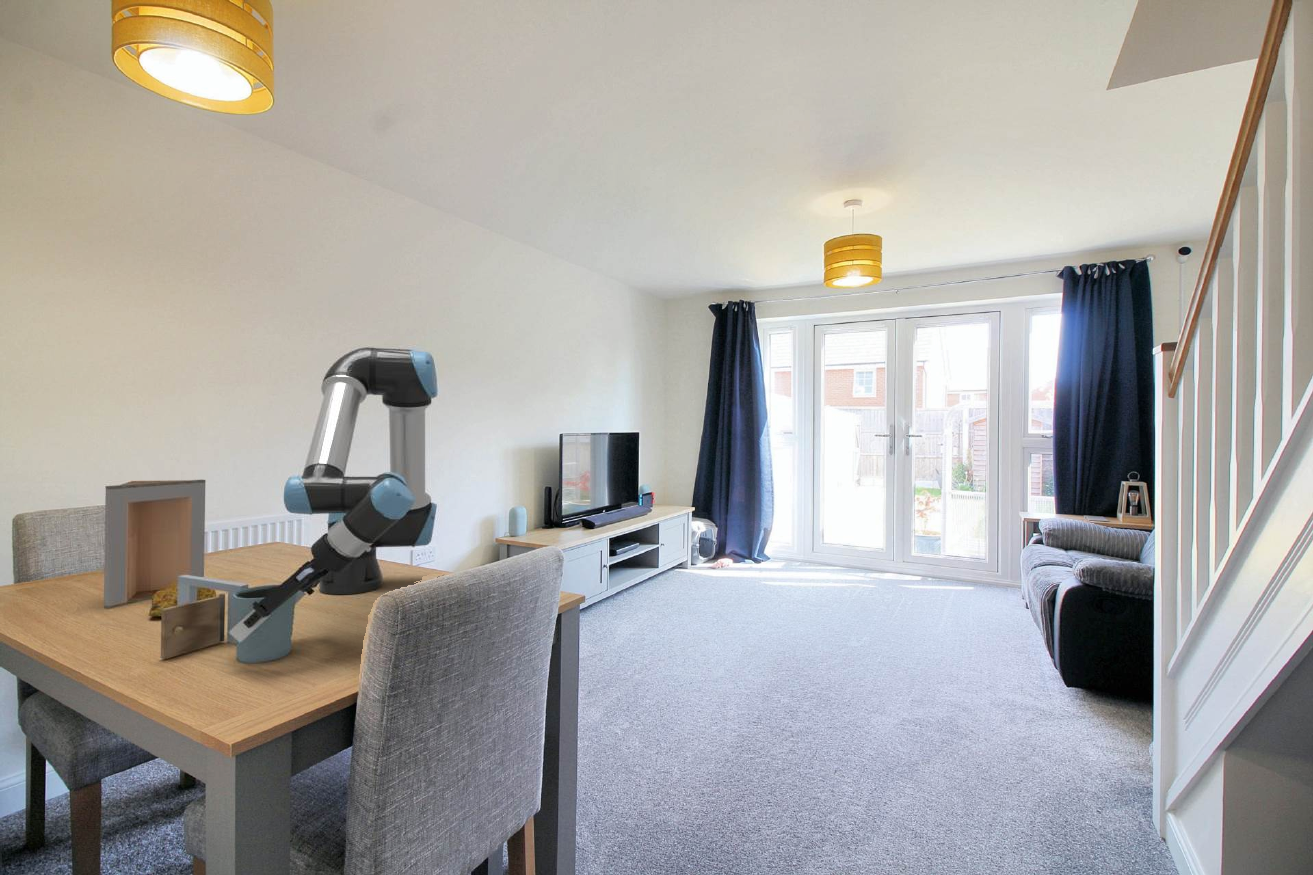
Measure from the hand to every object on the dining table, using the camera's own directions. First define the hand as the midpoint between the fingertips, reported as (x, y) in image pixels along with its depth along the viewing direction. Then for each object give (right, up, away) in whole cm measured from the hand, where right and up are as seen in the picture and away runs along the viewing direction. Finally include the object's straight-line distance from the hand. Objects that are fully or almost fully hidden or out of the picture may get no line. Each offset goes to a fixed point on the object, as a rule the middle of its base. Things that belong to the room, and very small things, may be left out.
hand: (256, 624), depth 112 cm
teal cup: (+1, -6, +1) cm, 6 cm away
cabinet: (-51, -4, +35) cm, 62 cm away
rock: (-32, -5, +23) cm, 40 cm away
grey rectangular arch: (-15, -5, +8) cm, 18 cm away
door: (-12, -5, +1) cm, 13 cm away
